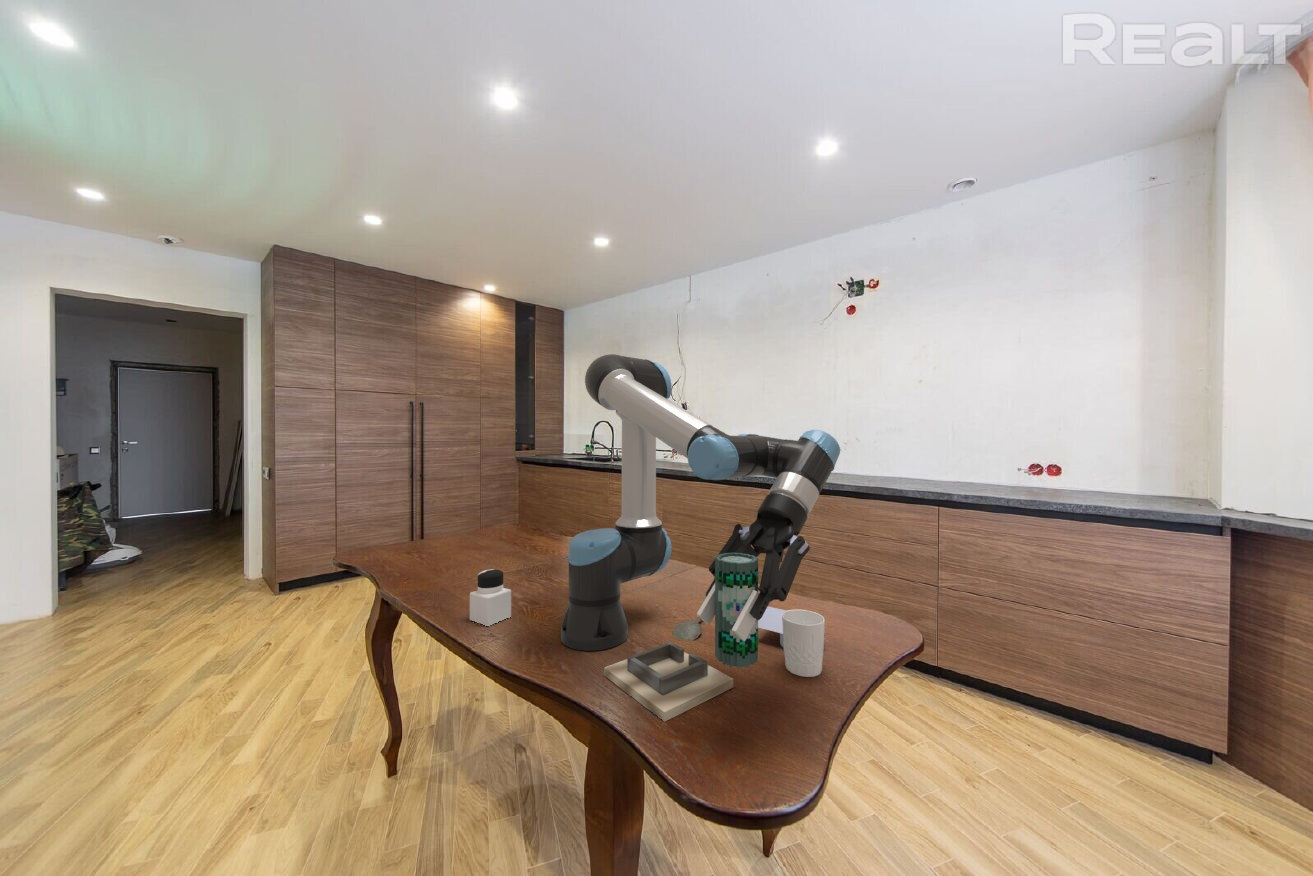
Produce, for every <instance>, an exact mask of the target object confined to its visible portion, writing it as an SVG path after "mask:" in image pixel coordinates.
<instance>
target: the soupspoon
mask: <svg viewBox="0 0 1313 876" xmlns="http://www.w3.org/2000/svg"><path fill="white" fill-rule="evenodd" d="M701 620H702V619H701V618H700V617H699V616H698V617H697V618H696V619H695V620H694V621H693V620H687V621H682V622H680V623H678V624H677V625H675V626H674V628H673V630H672V635H673V637H674V638H675V639H677V640H681V641H689V642H692V641H695V640H696V639H698V637H699V636H700V635H701V633H702V632H703V626H702V624H701V623H699V622H700V621H701Z"/></svg>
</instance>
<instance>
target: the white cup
mask: <svg viewBox="0 0 1313 876" xmlns="http://www.w3.org/2000/svg"><path fill="white" fill-rule="evenodd" d="M825 620H826V619H825V617H824V616H823V615H821V614H820V613H818V612H815V611H811V610H808V609H799V608H798V609H790V610H789V609H788V610H786V611H785V612H783V613H782V626H783V643H784V648H783V653H784V665H785V667H786V670H787V671H789V672H790V673H791V674H794V675H796V676H799V677H805V678H814V677H817V676H819V675H821V673H822V671H823V658H824V650H823V647H824V646H825ZM824 648H825V647H824Z"/></svg>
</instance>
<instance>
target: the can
mask: <svg viewBox="0 0 1313 876" xmlns="http://www.w3.org/2000/svg"><path fill="white" fill-rule="evenodd" d="M714 560H715V615H714V656H715V658H716V659H717V661H718V663H720V662H721V663H722V664H723V665H726V666H729V667H731V668H732V667H736V668H737V669H738V668H746V667H748V668H749V667H751V666H753V665H755V664H757V662H758V661H759V660H758V659H759V628H758V621H759V620H758V619H756V621H755V623H754V625H753V627H752V629H751V631H750V633H749V635H748V636H747V638H746V640H745V641H743V640H741V639H740V638H739V637H738V636H737V635H736V634H735V633H734V632H733V631H732V628H733V626H734V624H735V623H736V621H737V619H738V617H739V615H740V613H741V612H742V610H743V608H744V606H745V604H746V602H747V600H748V599H749V597H750V595H751V593H752V591H753V590H755V591H757V592H758V593H759V590H758V589H757V586H758V587H759V558H758V557H755V556H753V555H749V554H743V553H724V554H720V555H718V554H716V555H715V557H714Z"/></svg>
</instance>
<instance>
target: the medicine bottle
mask: <svg viewBox="0 0 1313 876" xmlns="http://www.w3.org/2000/svg"><path fill="white" fill-rule="evenodd" d="M510 617H511V618H512V589H509V588H506V587H504V572H503V571H502V570H500V569H495V568H494V569H493V568H492V569H486V570H482V571H481V572H479V573H478V574H477V590H475V591H470V593H469V621H470V620H472V621H475V622H477V623H481V624H483V625H485V626H484V627H486V626H489V627H491V626H490V625H492V624H494V623H497V624H498V622H499V621H502V620H504V619H506V618H509V619H510ZM506 620H507V619H506ZM504 621H505V620H504ZM502 622H503V621H502ZM477 623H476V624H477ZM499 623H500V622H499ZM483 625H482V626H483ZM494 625H495V624H494ZM492 626H493V625H492Z"/></svg>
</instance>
